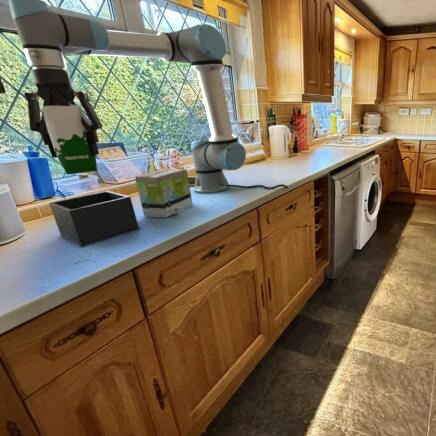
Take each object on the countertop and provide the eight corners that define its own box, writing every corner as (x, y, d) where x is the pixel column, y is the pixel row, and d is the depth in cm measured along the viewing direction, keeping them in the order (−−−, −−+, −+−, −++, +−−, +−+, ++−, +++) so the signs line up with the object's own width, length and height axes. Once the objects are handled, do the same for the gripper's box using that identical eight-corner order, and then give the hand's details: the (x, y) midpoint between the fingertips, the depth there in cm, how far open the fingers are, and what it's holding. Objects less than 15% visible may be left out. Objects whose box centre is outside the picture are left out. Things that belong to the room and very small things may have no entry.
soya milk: (98, 167, 94) (77, 98, 87) (101, 170, 88) (80, 97, 81) (61, 171, 89) (37, 98, 82) (62, 175, 82) (36, 97, 76)
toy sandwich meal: (210, 184, 152) (209, 175, 151) (181, 187, 148) (179, 178, 146) (209, 179, 163) (208, 171, 162) (182, 182, 159) (181, 173, 157)
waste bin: (116, 220, 105) (107, 190, 102) (139, 228, 97) (130, 196, 93) (61, 236, 93) (48, 203, 89) (81, 247, 85) (69, 210, 81)
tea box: (168, 218, 106) (158, 176, 101) (143, 217, 108) (133, 176, 103) (194, 205, 120) (186, 168, 114) (171, 204, 122) (163, 168, 116)
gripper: (-13, 67, 74) (22, 160, 81) (88, 67, 78) (112, 155, 85) (11, 71, 80) (41, 156, 88) (102, 70, 84) (123, 151, 92)
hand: (76, 155), depth 87 cm, fingers closed on soya milk, 9 cm apart
